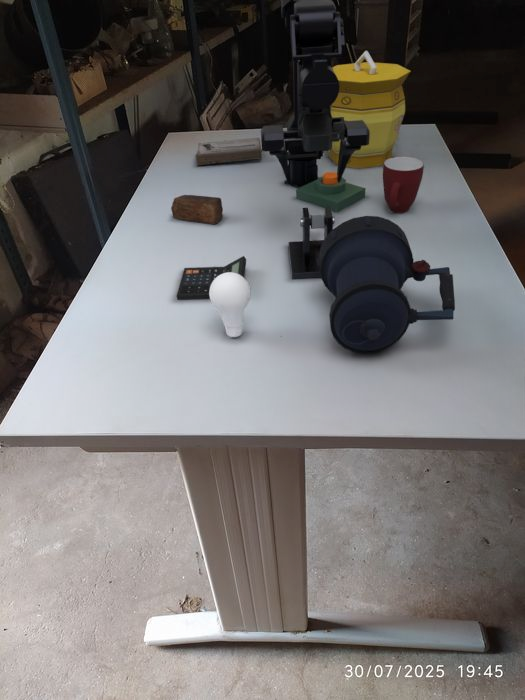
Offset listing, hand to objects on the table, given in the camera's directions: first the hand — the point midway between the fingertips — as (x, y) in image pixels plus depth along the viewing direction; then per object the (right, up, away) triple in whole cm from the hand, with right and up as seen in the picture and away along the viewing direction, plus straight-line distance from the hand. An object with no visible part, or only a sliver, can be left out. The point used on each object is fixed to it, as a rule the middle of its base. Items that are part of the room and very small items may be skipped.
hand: (313, 182), depth 100 cm
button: (+6, +6, +20) cm, 22 cm away
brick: (-24, -3, +18) cm, 30 cm away
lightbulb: (-14, -29, -16) cm, 36 cm away
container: (+16, +19, +42) cm, 49 cm away
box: (-19, +21, +46) cm, 54 cm away
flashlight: (+9, -28, -16) cm, 33 cm away
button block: (+6, +4, +23) cm, 24 cm away
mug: (+19, -2, +15) cm, 25 cm away
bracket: (+1, -14, +1) cm, 15 cm away
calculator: (-18, -20, -4) cm, 27 cm away
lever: (0, -8, 0) cm, 9 cm away
